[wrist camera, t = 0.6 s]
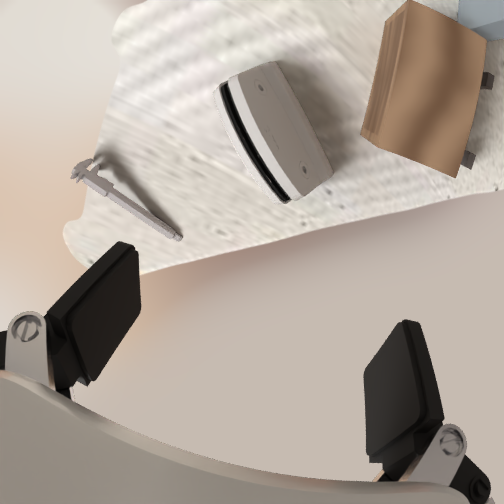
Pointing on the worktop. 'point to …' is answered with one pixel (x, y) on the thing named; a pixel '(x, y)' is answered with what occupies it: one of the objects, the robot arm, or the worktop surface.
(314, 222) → the worktop surface
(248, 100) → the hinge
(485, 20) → the door
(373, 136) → the cabinet
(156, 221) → the caliper
